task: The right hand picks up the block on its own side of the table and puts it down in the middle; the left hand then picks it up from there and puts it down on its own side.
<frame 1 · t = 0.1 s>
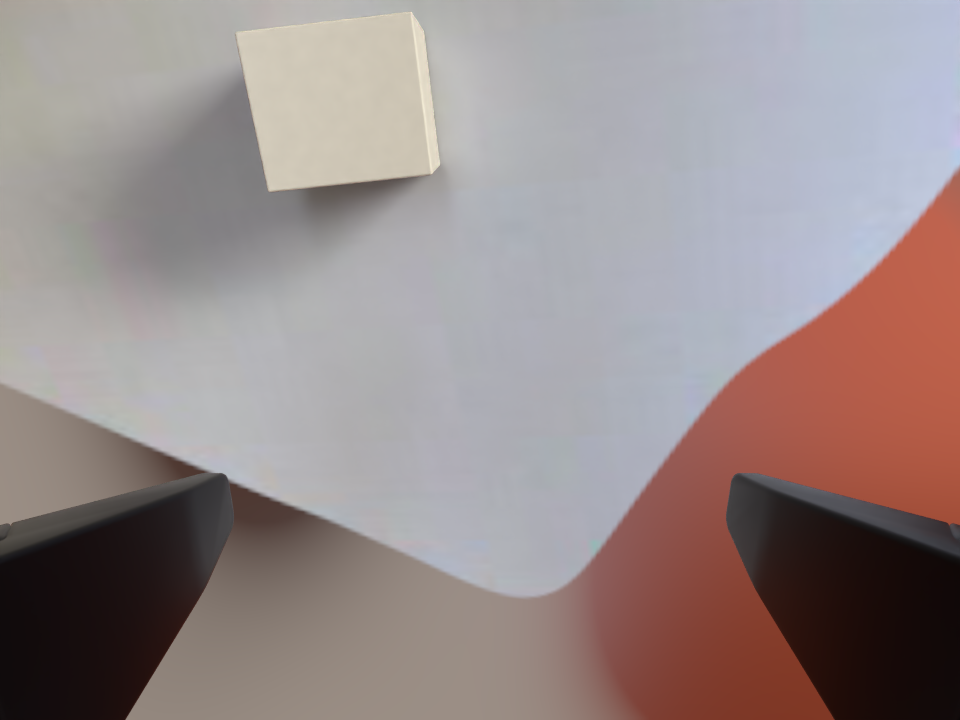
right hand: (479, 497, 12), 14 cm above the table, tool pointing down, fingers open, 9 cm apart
block: (360, 108, 23), on the table
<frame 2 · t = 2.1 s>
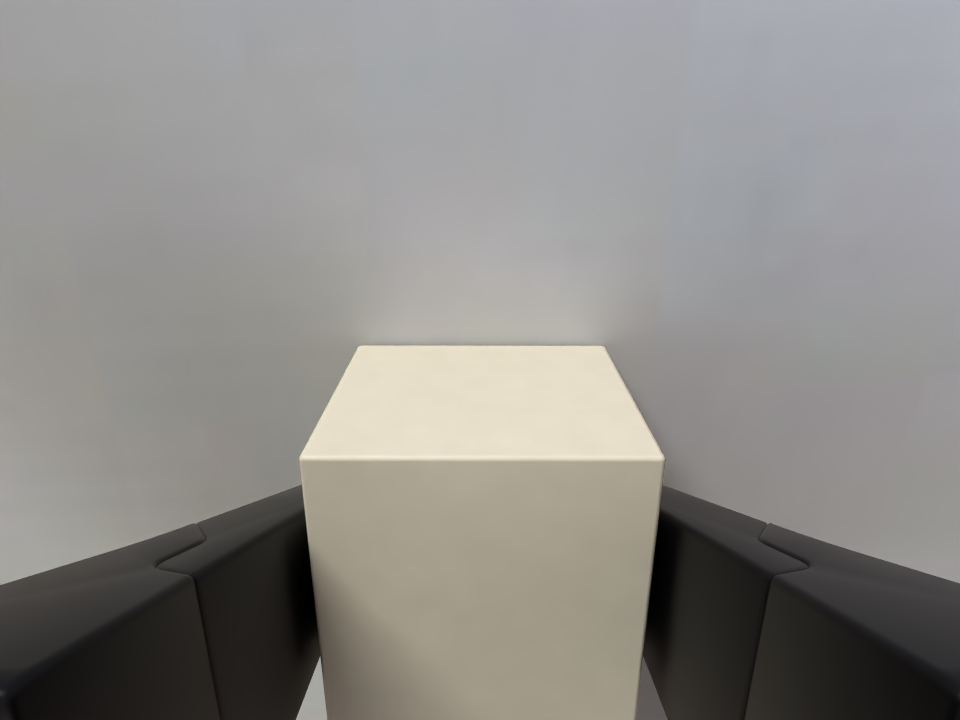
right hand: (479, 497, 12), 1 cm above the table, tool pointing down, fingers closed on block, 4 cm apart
block: (481, 468, 12), on the table, touching right hand
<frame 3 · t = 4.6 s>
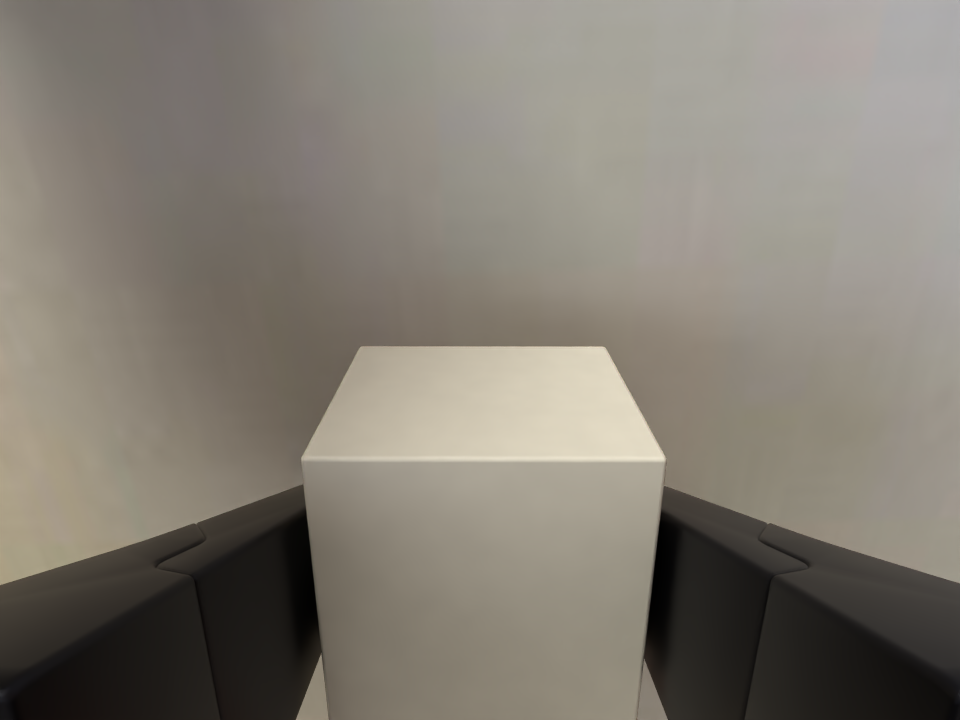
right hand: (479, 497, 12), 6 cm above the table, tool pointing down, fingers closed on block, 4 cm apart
block: (482, 469, 12), point 5 cm above the table, touching right hand
when the right hand's fingers open (2 cm above the table, at t = 7.2 s): block stays where it is, on the table.
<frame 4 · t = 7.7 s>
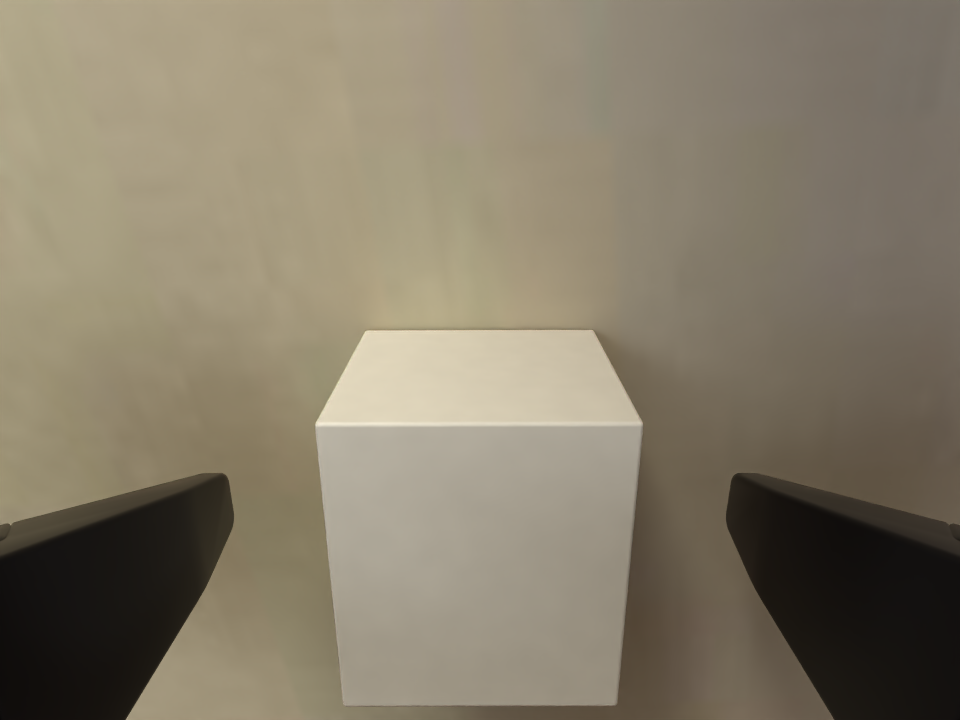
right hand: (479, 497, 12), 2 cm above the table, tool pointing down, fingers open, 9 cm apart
block: (479, 446, 13), on the table
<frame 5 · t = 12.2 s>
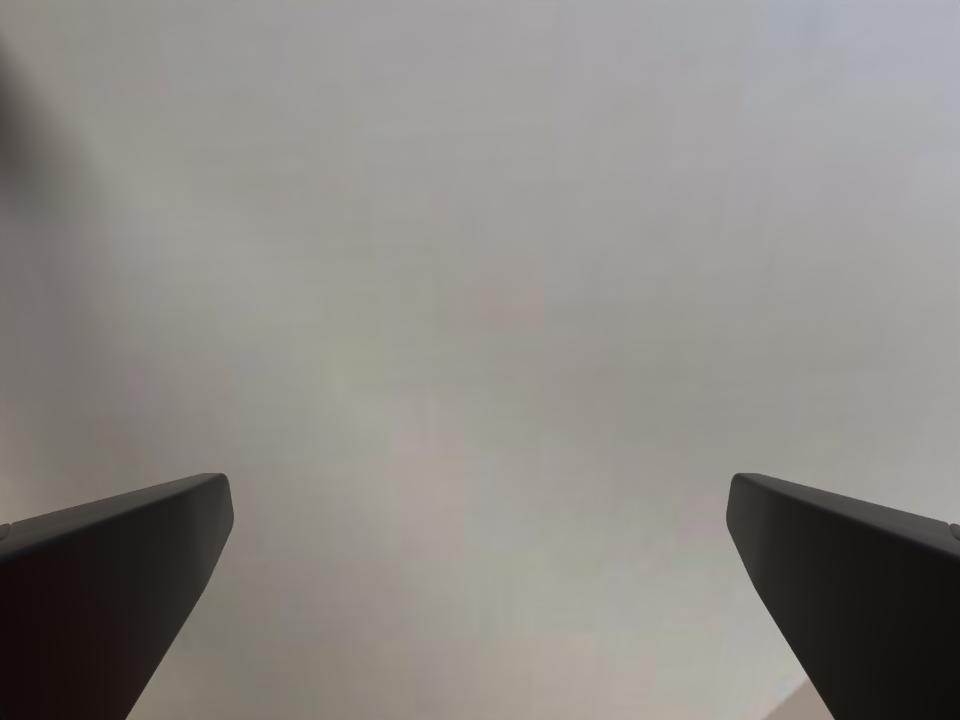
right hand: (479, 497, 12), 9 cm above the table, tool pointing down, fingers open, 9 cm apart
when the left hand's fingers open (2 cm above the table, at t = 15.5 s): block stays where it is, on the table.
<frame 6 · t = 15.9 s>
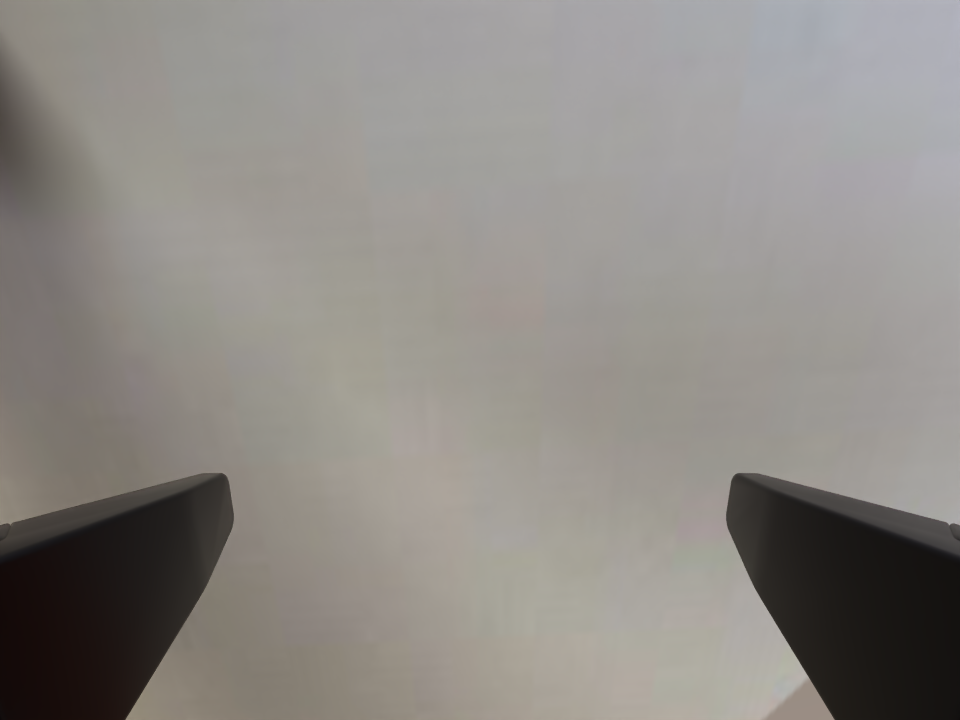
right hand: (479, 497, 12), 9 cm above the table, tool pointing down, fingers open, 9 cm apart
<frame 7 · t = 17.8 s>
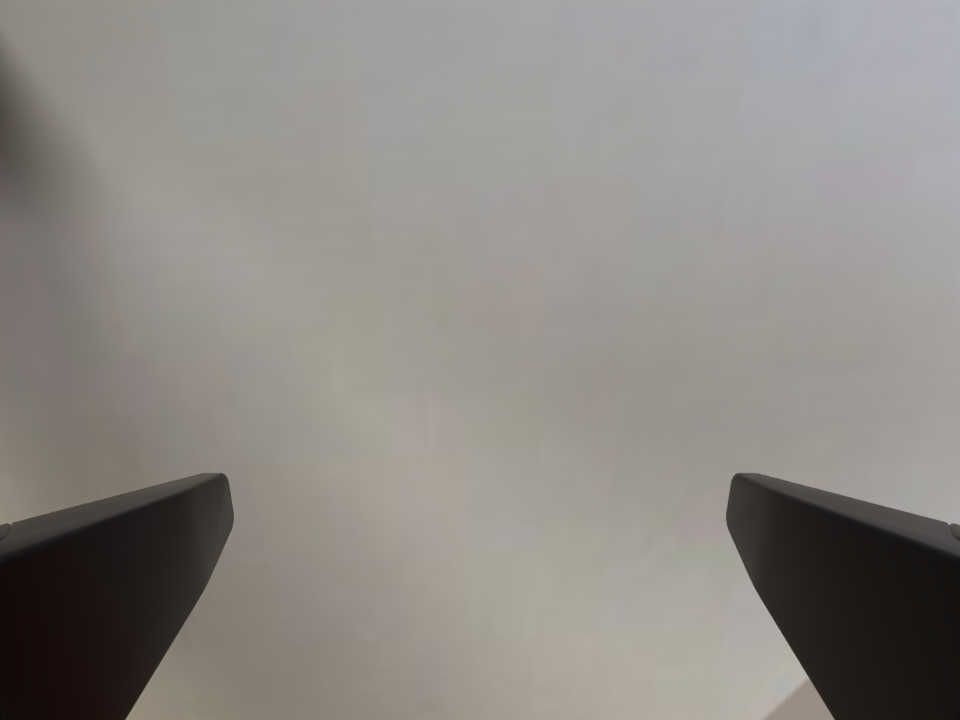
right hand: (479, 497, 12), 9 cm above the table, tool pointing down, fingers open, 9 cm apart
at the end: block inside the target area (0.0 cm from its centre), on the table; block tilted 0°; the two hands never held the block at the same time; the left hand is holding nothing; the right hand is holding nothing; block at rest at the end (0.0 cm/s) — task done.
